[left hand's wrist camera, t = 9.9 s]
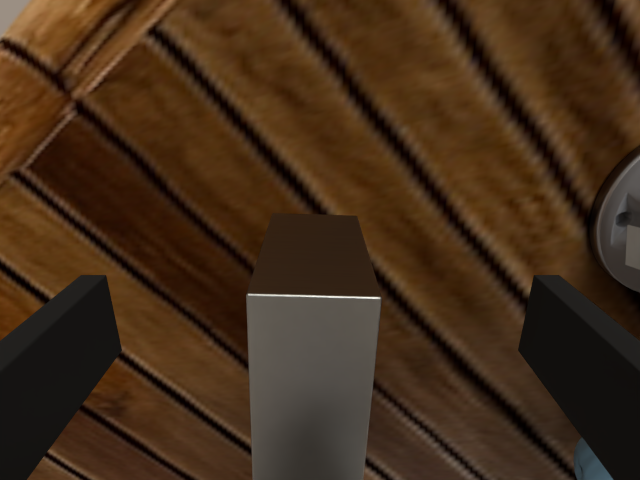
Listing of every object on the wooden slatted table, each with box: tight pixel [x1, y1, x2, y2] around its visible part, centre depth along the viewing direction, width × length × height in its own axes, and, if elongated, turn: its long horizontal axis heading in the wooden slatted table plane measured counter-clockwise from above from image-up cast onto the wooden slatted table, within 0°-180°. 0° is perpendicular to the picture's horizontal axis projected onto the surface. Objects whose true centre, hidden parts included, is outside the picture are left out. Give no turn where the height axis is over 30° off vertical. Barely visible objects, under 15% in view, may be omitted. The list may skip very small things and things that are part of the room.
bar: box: [246, 213, 382, 480], centre depth 22 cm, size 25×4×9 cm, turn 178°
